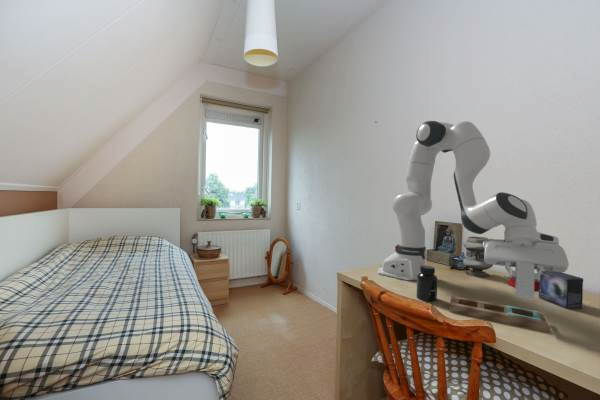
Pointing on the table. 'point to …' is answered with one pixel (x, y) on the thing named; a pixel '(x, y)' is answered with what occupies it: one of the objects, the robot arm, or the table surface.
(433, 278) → the supplement bottle
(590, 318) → the table surface
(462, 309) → the wooden compartment tray
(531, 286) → the steel peg
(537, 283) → the alarm clock
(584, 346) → the table surface
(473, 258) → the apothecary jar
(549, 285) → the small box
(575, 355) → the table surface
